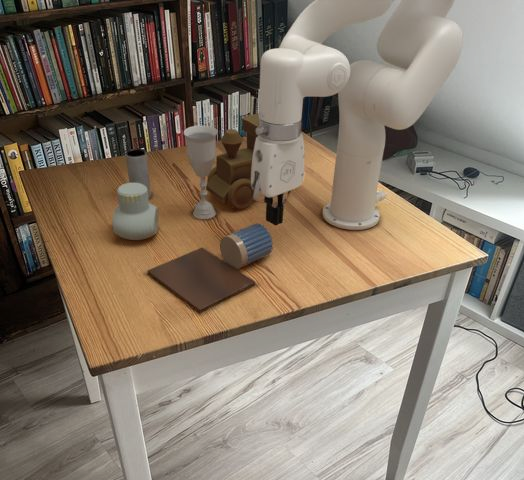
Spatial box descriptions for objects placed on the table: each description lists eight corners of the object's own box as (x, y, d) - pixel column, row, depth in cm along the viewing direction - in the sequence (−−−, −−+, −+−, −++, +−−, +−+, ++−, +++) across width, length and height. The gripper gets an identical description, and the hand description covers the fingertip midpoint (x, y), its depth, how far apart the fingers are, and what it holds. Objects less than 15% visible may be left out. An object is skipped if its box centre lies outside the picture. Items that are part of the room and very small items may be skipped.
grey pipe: (153, 198, 129) (148, 155, 123) (133, 201, 128) (127, 157, 121) (148, 190, 133) (143, 147, 126) (129, 193, 131) (123, 149, 124)
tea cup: (248, 243, 115) (252, 216, 110) (270, 261, 112) (275, 234, 107) (218, 257, 110) (220, 229, 105) (239, 276, 107) (243, 248, 103)
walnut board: (202, 250, 113) (202, 247, 113) (255, 285, 104) (255, 281, 104) (147, 274, 106) (147, 270, 106) (199, 313, 98) (199, 309, 97)
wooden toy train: (272, 177, 140) (275, 107, 129) (300, 194, 133) (305, 123, 122) (202, 195, 131) (198, 123, 120) (227, 215, 124) (226, 140, 113)
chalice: (214, 223, 122) (212, 140, 110) (184, 219, 123) (178, 136, 111) (223, 207, 127) (221, 127, 115) (194, 204, 128) (189, 123, 116)
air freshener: (122, 220, 122) (115, 176, 115) (160, 220, 122) (156, 176, 115) (113, 246, 113) (105, 200, 107) (154, 247, 114) (149, 201, 107)
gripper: (262, 144, 93) (258, 241, 105) (323, 125, 101) (313, 218, 113) (233, 131, 98) (232, 226, 110) (294, 114, 106) (287, 204, 117)
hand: (274, 221), depth 111 cm, fingers closed
